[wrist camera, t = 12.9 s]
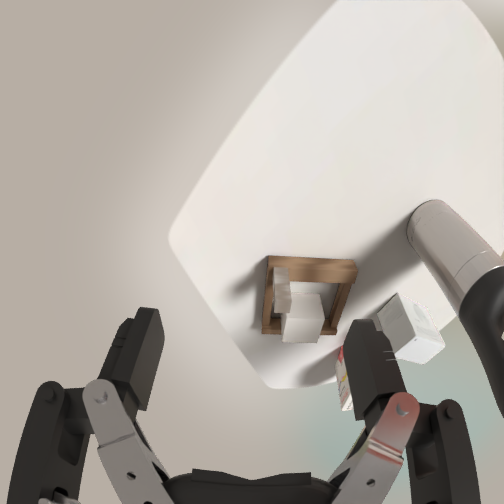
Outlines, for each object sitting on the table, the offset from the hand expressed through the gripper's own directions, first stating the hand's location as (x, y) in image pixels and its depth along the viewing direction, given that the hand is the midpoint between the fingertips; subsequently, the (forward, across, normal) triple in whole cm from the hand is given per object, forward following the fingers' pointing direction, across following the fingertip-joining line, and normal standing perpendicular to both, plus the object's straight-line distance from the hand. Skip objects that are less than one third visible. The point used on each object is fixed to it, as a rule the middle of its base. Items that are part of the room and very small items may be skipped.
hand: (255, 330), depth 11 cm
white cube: (+28, -9, +26) cm, 39 cm away
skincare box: (+28, -30, +27) cm, 49 cm away
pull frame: (+28, -9, +23) cm, 38 cm away
